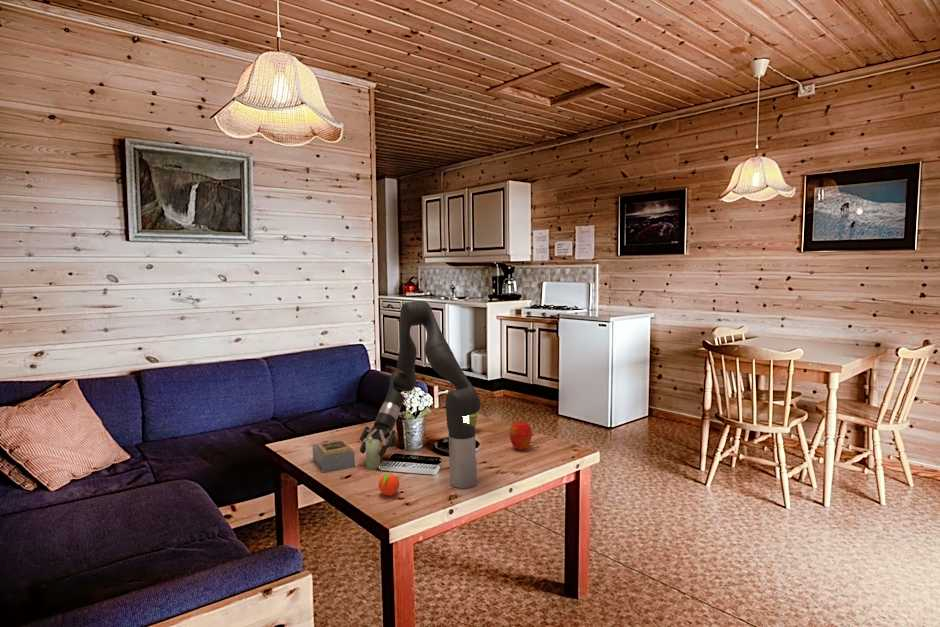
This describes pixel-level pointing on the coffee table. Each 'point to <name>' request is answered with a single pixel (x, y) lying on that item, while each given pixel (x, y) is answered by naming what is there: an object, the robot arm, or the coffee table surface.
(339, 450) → the grey open box
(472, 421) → the plant pot
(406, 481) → the coffee table surface
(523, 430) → the apple
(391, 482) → the clementine
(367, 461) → the pale green candle
